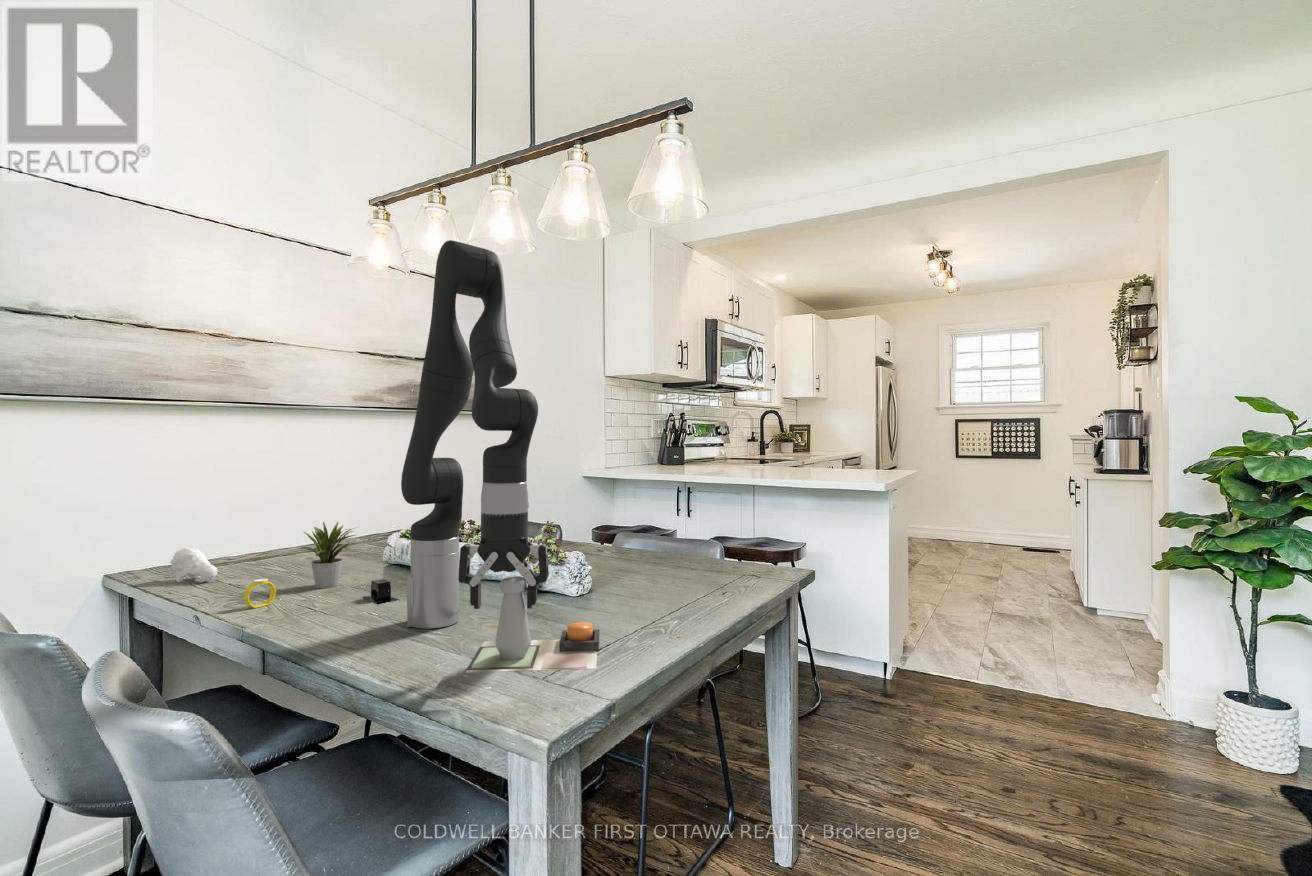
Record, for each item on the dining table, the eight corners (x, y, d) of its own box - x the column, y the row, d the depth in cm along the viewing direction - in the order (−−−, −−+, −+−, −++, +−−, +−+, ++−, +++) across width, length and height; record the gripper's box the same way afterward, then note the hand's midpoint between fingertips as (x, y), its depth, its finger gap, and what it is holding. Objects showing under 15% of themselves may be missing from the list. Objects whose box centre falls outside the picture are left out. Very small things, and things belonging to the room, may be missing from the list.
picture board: (457, 683, 91) (457, 665, 91) (479, 646, 107) (479, 631, 107) (602, 678, 93) (602, 661, 93) (603, 643, 109) (603, 628, 109)
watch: (269, 603, 136) (271, 577, 136) (277, 605, 135) (278, 578, 135) (241, 608, 131) (243, 581, 131) (248, 610, 129) (250, 582, 130)
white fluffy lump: (193, 544, 161) (227, 550, 158) (191, 575, 161) (225, 583, 158) (168, 548, 155) (203, 555, 152) (166, 581, 155) (200, 588, 152)
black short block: (407, 602, 138) (407, 582, 138) (375, 609, 133) (375, 588, 132) (385, 593, 146) (385, 574, 146) (353, 598, 141) (353, 579, 141)
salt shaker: (523, 663, 96) (523, 582, 96) (489, 661, 97) (489, 581, 97) (536, 650, 102) (536, 574, 101) (504, 648, 102) (504, 572, 102)
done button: (566, 641, 102) (566, 630, 102) (568, 633, 107) (568, 622, 107) (592, 641, 103) (592, 629, 103) (593, 632, 107) (593, 621, 107)
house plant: (353, 591, 146) (353, 524, 146) (288, 595, 142) (288, 526, 142) (364, 578, 159) (364, 516, 159) (305, 581, 155) (305, 518, 155)
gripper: (454, 512, 94) (453, 615, 95) (545, 512, 95) (545, 614, 96) (466, 506, 102) (465, 601, 102) (550, 506, 103) (550, 600, 103)
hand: (504, 607), depth 99 cm, fingers open, 8 cm apart
